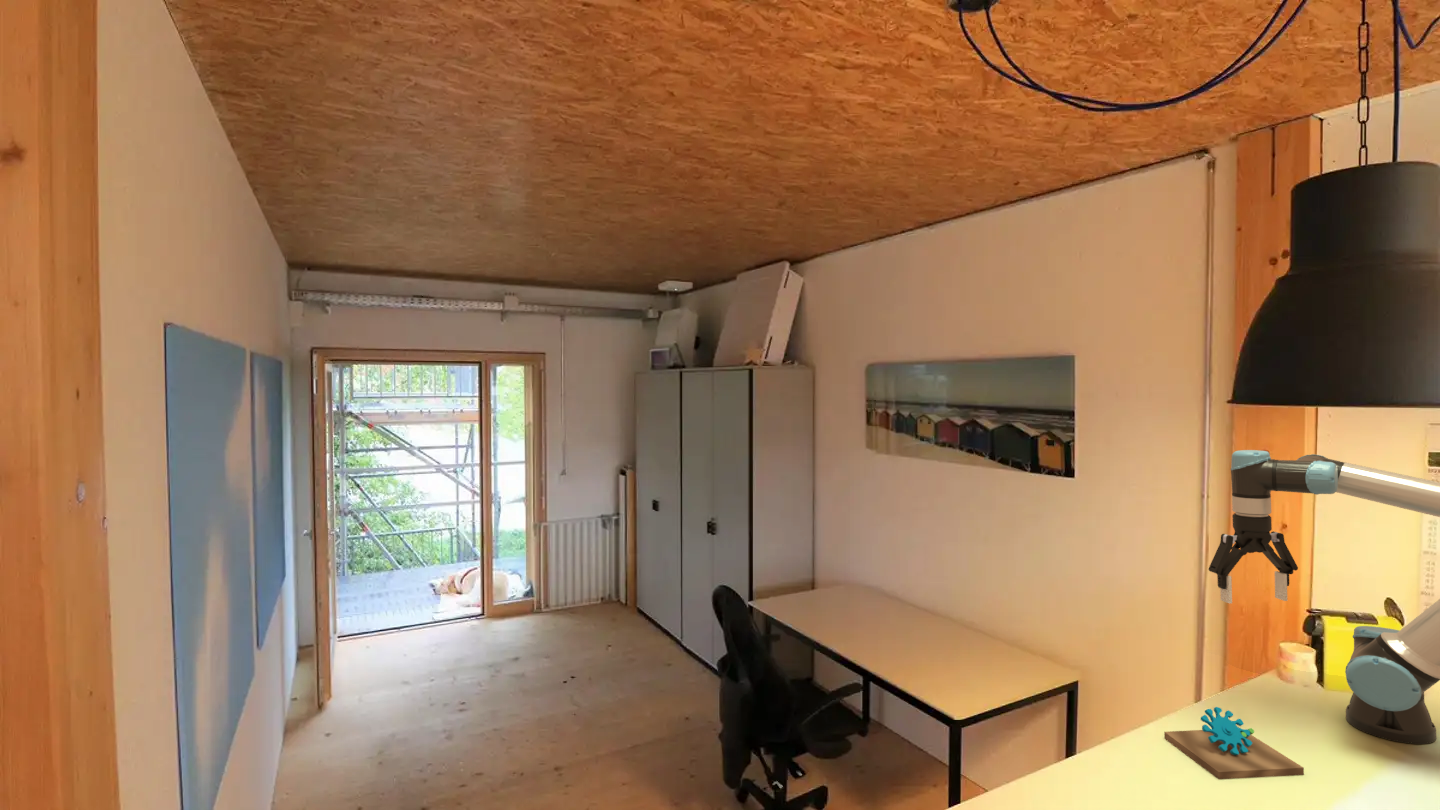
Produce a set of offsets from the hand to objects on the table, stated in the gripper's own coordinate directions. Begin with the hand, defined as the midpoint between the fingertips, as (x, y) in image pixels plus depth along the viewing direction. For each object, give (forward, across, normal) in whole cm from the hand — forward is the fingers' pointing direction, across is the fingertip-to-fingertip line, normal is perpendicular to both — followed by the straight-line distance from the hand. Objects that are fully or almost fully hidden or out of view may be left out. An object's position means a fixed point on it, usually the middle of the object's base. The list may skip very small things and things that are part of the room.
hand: (1253, 600), depth 167 cm
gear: (+27, +19, +16) cm, 37 cm away
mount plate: (+29, +19, +16) cm, 38 cm away
